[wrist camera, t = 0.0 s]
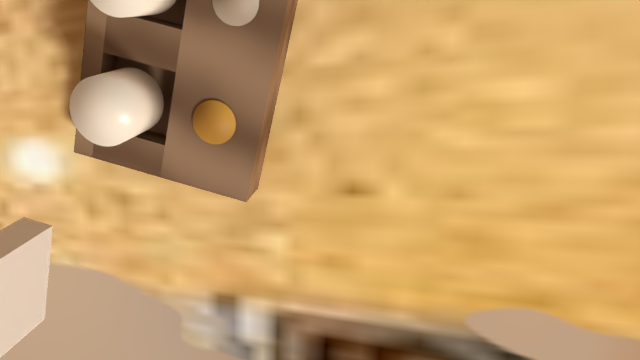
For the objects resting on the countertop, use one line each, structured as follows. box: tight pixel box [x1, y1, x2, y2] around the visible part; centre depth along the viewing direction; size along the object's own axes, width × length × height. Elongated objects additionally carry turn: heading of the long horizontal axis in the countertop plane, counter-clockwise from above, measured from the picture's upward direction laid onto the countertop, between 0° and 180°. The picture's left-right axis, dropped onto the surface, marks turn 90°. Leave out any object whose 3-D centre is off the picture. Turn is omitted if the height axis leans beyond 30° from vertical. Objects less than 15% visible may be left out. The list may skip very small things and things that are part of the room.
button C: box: [69, 67, 164, 147], centre depth 38 cm, size 4×4×4 cm
